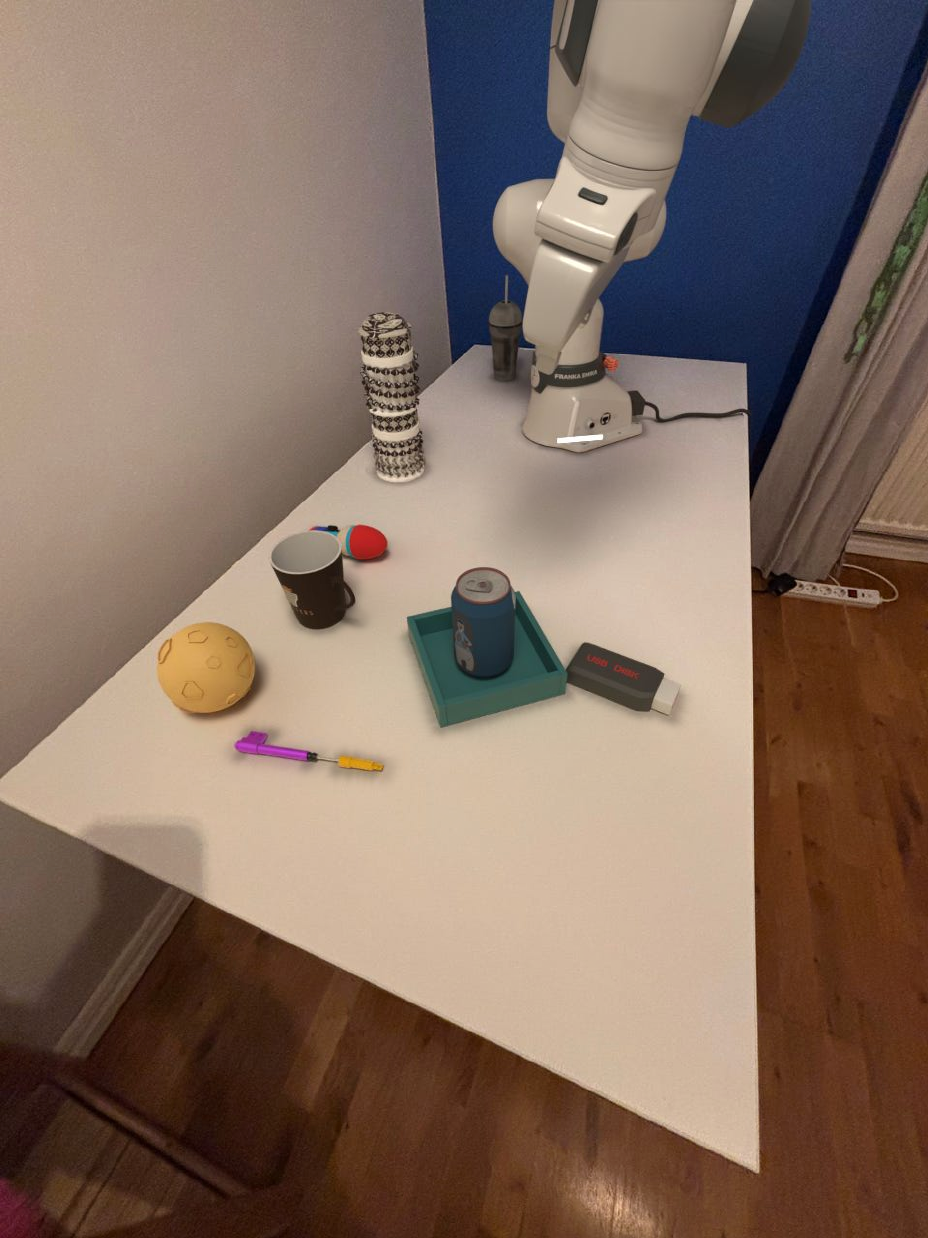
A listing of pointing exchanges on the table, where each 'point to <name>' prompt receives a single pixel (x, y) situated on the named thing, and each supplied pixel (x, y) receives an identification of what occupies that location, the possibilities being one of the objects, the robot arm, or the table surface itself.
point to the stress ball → (205, 667)
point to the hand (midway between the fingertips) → (562, 345)
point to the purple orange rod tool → (297, 752)
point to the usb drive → (621, 679)
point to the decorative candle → (392, 396)
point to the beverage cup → (505, 337)
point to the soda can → (483, 622)
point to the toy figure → (358, 540)
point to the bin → (470, 697)
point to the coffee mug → (312, 577)
